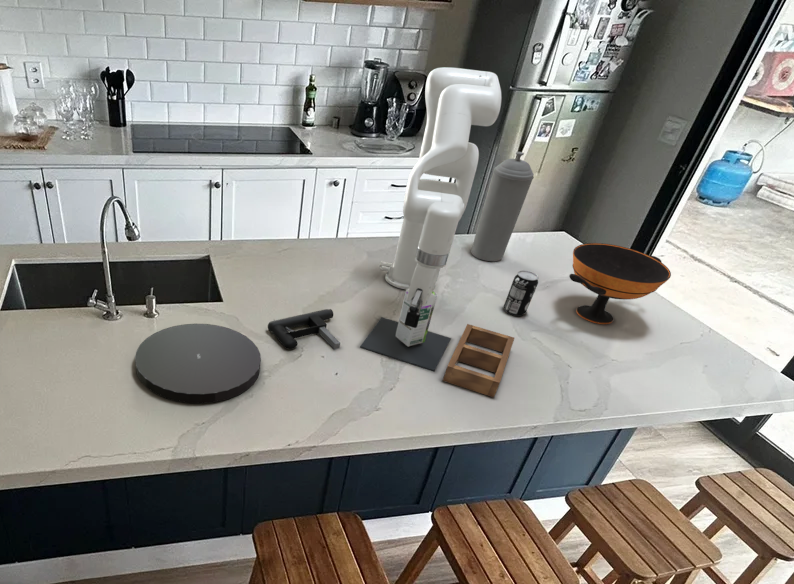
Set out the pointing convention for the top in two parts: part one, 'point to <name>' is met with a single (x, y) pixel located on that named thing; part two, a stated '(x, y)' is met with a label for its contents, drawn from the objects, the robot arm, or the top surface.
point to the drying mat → (389, 345)
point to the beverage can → (521, 293)
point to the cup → (614, 276)
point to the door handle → (312, 320)
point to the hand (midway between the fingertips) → (415, 318)
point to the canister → (502, 208)
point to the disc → (197, 363)
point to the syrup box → (419, 333)
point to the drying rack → (479, 360)
